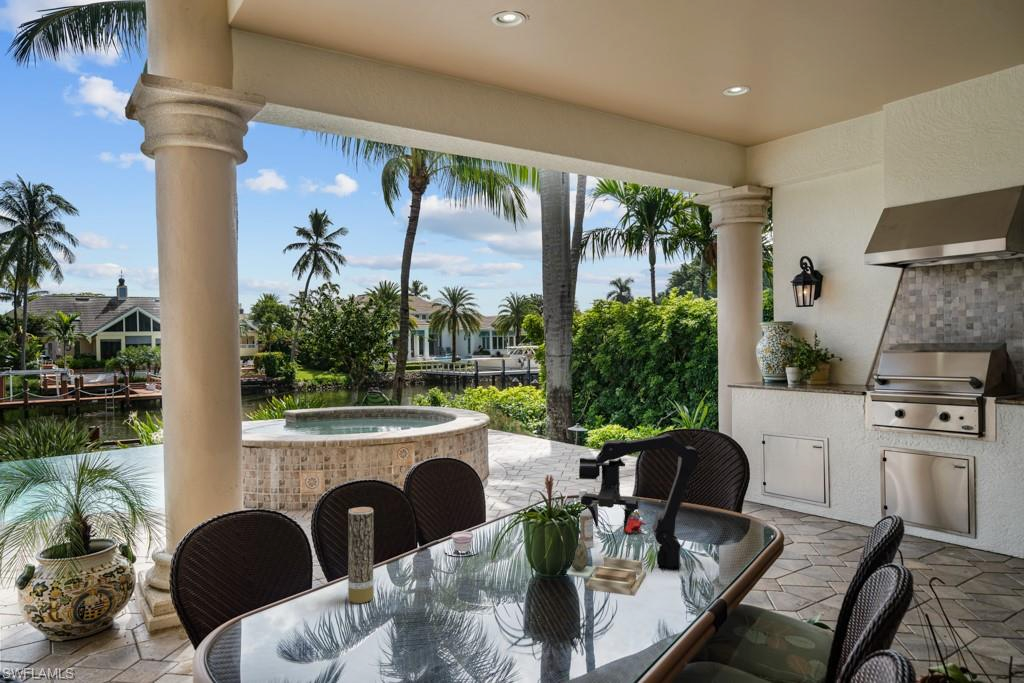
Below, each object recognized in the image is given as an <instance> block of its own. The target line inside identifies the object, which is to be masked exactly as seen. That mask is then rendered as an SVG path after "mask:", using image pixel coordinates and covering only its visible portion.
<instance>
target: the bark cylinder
mask: <svg viewBox="0 0 1024 683" xmlns="http://www.w3.org/2000/svg"><path fill="white" fill-rule="evenodd" d="M347 518H348V525H347V526H348V527H347V528H348V532H347V534H348V544H347V545H348V547H347V548H348V550H347V552H348V554H347V559H348V560H347V561H348V562H347V566H348V569H347V571H348V572H347V577H348V578H347V580H348V582H347V586H348V588H347V589H348V592H347V595H348V598H347V599H348V601H349V602H350V603H352V602H353V604H365V602H366V603H368V601H369V602H370V601H372V599H373V598H374V508H373V507H371V506H359V507H352V508H349V509H348V517H347Z"/></svg>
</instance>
